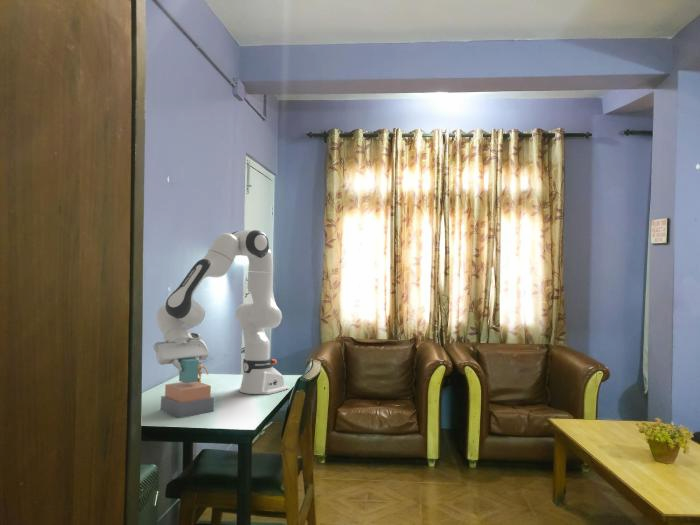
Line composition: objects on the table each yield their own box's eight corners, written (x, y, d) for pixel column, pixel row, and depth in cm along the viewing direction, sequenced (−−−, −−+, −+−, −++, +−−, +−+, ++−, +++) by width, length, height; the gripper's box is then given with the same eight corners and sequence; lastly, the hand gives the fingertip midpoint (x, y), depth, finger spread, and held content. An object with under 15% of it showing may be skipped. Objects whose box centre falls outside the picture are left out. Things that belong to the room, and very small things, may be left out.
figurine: (186, 392, 225) (187, 364, 226) (189, 389, 231) (190, 362, 232) (206, 392, 226) (207, 365, 226) (208, 389, 232) (209, 362, 232)
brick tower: (194, 403, 208) (195, 379, 208) (213, 411, 198) (214, 385, 198) (160, 409, 198) (161, 384, 198) (179, 417, 188) (180, 391, 188)
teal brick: (191, 379, 201) (191, 358, 202) (197, 381, 198) (198, 360, 198) (179, 380, 198) (179, 359, 198) (185, 383, 194) (186, 361, 195)
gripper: (155, 337, 195) (166, 367, 189) (203, 334, 210) (216, 361, 203) (149, 348, 198) (160, 378, 192) (197, 343, 213) (209, 371, 206)
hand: (189, 369), depth 198 cm, fingers closed on teal brick, 5 cm apart
